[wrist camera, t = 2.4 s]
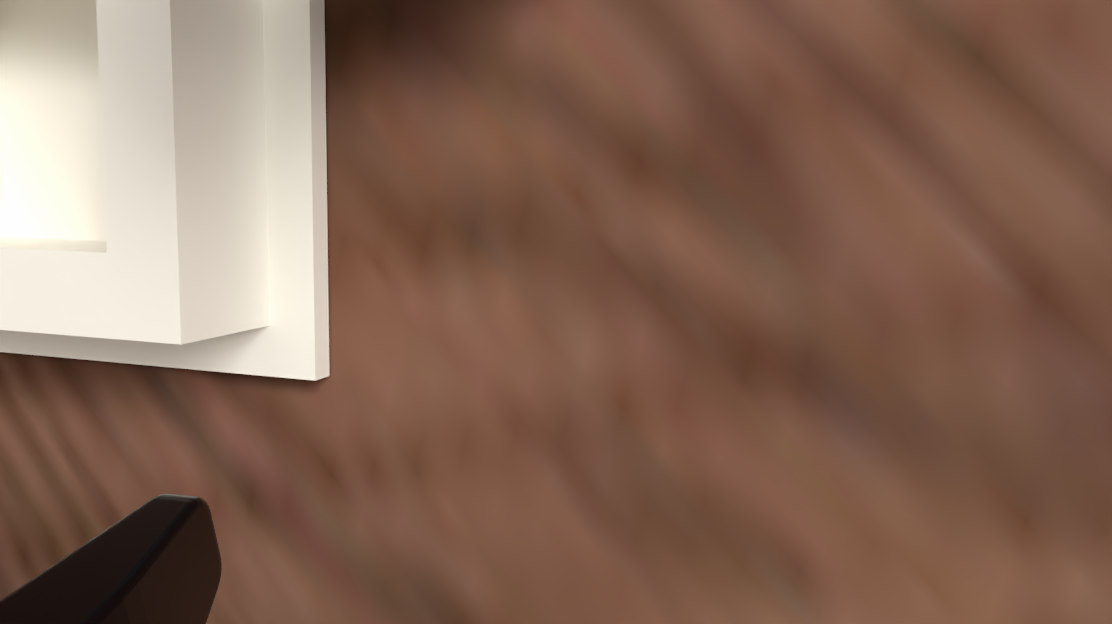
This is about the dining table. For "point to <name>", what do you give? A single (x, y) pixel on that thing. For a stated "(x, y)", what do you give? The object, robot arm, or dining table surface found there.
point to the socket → (165, 183)
